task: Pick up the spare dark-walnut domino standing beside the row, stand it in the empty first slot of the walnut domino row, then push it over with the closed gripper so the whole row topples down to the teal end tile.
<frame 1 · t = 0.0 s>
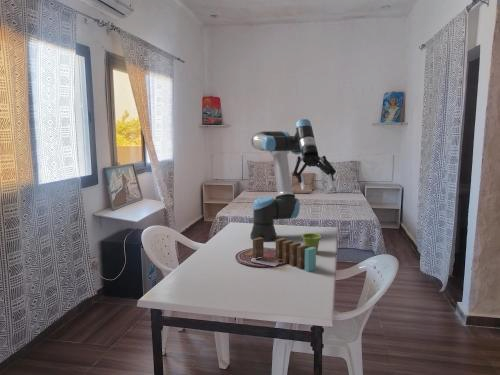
hand: (317, 188, 168), 36 cm above the table, tool tilted 35°, fingers open, 13 cm apart
domino 5: (302, 267, 171), on the table
domino 4: (294, 264, 175), on the table
domino 3: (287, 261, 178), on the table
domino 2: (280, 259, 182), on the table
plant pot: (311, 252, 192), on the table
domino 6: (310, 269, 168), on the table
domino 1: (258, 258, 183), on the table
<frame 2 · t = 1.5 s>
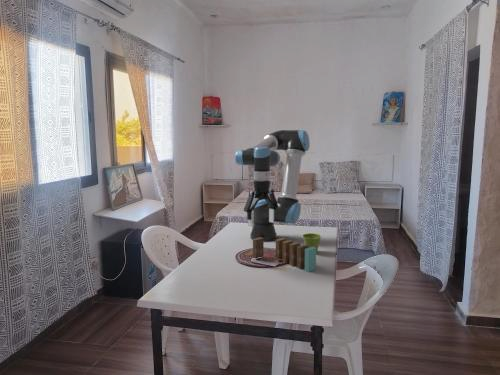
hand: (261, 224, 179), 17 cm above the table, tool pointing down, fingers open, 13 cm apart
nothing on the table moved.
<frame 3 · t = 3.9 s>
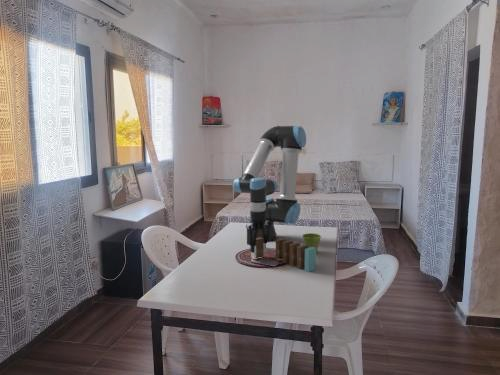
hand: (258, 256, 183), 1 cm above the table, tool pointing down, fingers closed on domino 1, 5 cm apart
domino 1: (258, 258, 183), on the table, touching gripper
everything else where it was.
when the fingers open (2 cm above the table, at t = 8.4 s): domino 1 stays where it is, on the table.
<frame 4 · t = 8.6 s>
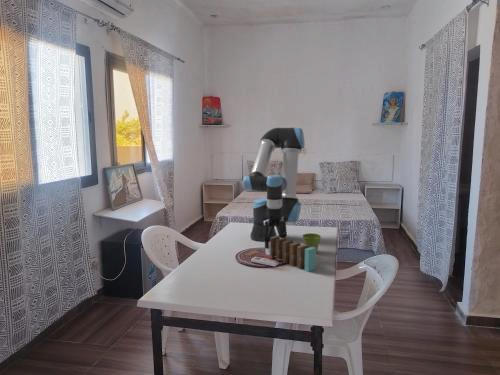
hand: (274, 252, 185), 2 cm above the table, tool pointing down, fingers open, 8 cm apart
domino 1: (274, 256, 185), on the table
everything else where it was.
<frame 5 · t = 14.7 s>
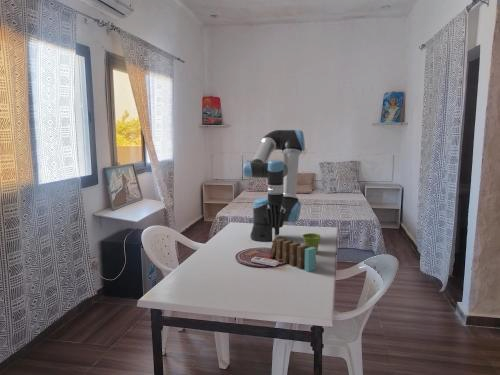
hand: (275, 240, 183), 9 cm above the table, tool pointing down, fingers closed
domino 2: (280, 259, 182), on the table, touching domino 1
domino 1: (274, 256, 185), on the table, tilted 19°, touching domino 2
everything else where it was.
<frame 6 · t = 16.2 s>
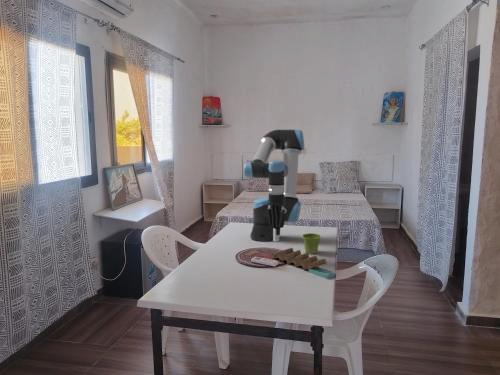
hand: (276, 240, 183), 8 cm above the table, tool pointing down, fingers closed
domino 5: (306, 266, 169), point 1 cm above the table, tilted 63°, touching domino 4, domino 6
domino 4: (298, 263, 173), point 1 cm above the table, tilted 63°, touching domino 3, domino 5
domino 3: (290, 260, 177), point 1 cm above the table, tilted 63°, touching domino 2, domino 4
domino 2: (283, 258, 180), point 1 cm above the table, tilted 62°, touching domino 1, domino 3
domino 6: (312, 269, 167), point 1 cm above the table, tilted 90°, touching domino 5
domino 1: (276, 255, 184), point 1 cm above the table, tilted 62°, touching domino 2
everything else where it was.
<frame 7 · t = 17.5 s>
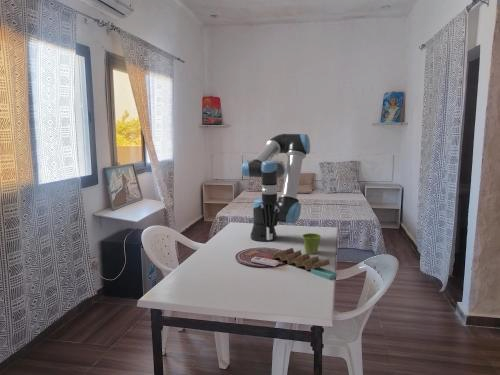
hand: (269, 239, 187), 8 cm above the table, tool pointing down, fingers closed
domino 5: (308, 266, 169), point 1 cm above the table, tilted 65°
domino 4: (299, 263, 173), point 1 cm above the table, tilted 65°, touching domino 3
domino 6: (314, 270, 166), point 1 cm above the table, tilted 90°
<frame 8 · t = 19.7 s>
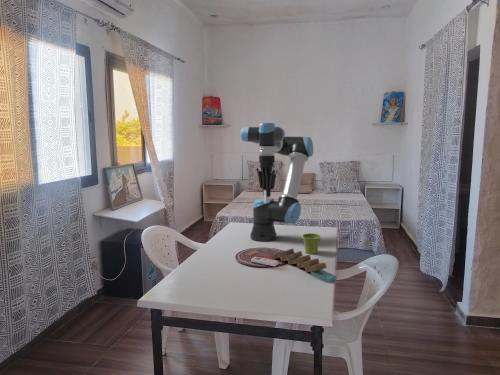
hand: (266, 202, 185), 26 cm above the table, tool pointing down, fingers closed
domino 5: (309, 268, 166), point 1 cm above the table, tilted 67°, touching domino 4, domino 6
domino 4: (301, 264, 171), point 1 cm above the table, tilted 66°, touching domino 5
domino 3: (291, 261, 176), point 1 cm above the table, tilted 67°, touching domino 2
domino 6: (314, 272, 163), point 1 cm above the table, tilted 90°, touching domino 5
at the end: domino 6 tilted 90°; domino 1 tilted 64°; plant pot moved 0.2 cm from its start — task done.
